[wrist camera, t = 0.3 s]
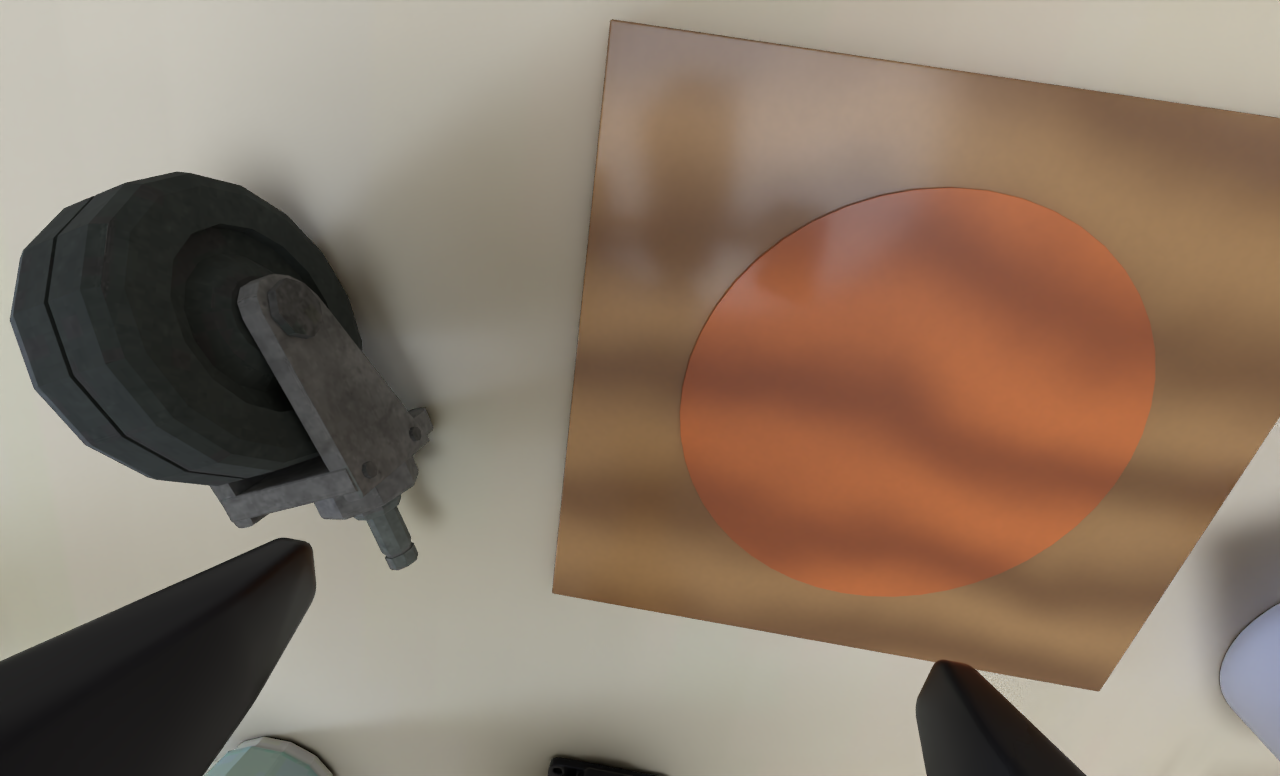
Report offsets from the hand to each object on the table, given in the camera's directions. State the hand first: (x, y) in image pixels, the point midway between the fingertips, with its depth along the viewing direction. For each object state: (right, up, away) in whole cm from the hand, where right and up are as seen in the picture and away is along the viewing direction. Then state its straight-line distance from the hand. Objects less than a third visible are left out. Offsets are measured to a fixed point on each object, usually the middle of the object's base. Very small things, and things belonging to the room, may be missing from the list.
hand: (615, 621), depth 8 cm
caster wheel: (-11, +4, +15) cm, 19 cm away
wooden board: (+10, +3, +14) cm, 17 cm away
